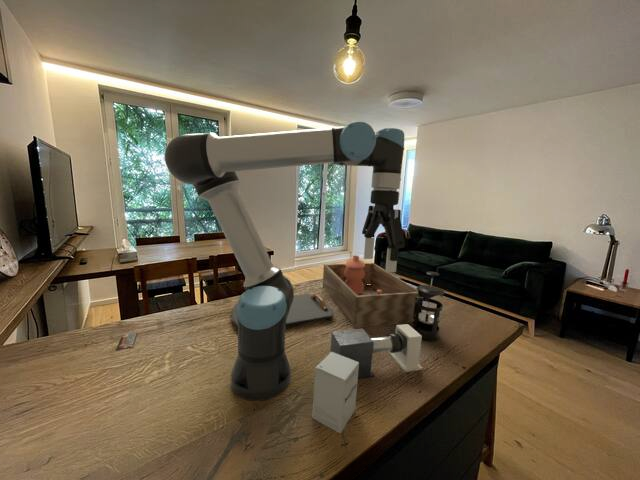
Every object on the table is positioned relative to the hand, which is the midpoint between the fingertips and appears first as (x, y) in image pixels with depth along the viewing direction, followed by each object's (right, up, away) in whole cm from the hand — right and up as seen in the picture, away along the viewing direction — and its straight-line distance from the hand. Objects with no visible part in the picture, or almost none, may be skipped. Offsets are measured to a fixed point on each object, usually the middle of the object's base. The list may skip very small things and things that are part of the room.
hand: (378, 264), depth 79 cm
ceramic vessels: (+4, -22, +43) cm, 48 cm away
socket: (+9, -29, +3) cm, 30 cm away
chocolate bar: (-77, -25, +7) cm, 81 cm away
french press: (+21, -27, +20) cm, 39 cm away
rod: (+2, -25, 0) cm, 25 cm away
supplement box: (-14, -32, -17) cm, 39 cm away
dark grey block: (-8, -29, -2) cm, 30 cm away
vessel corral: (+3, -21, +44) cm, 49 cm away
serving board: (-31, -23, +29) cm, 48 cm away
